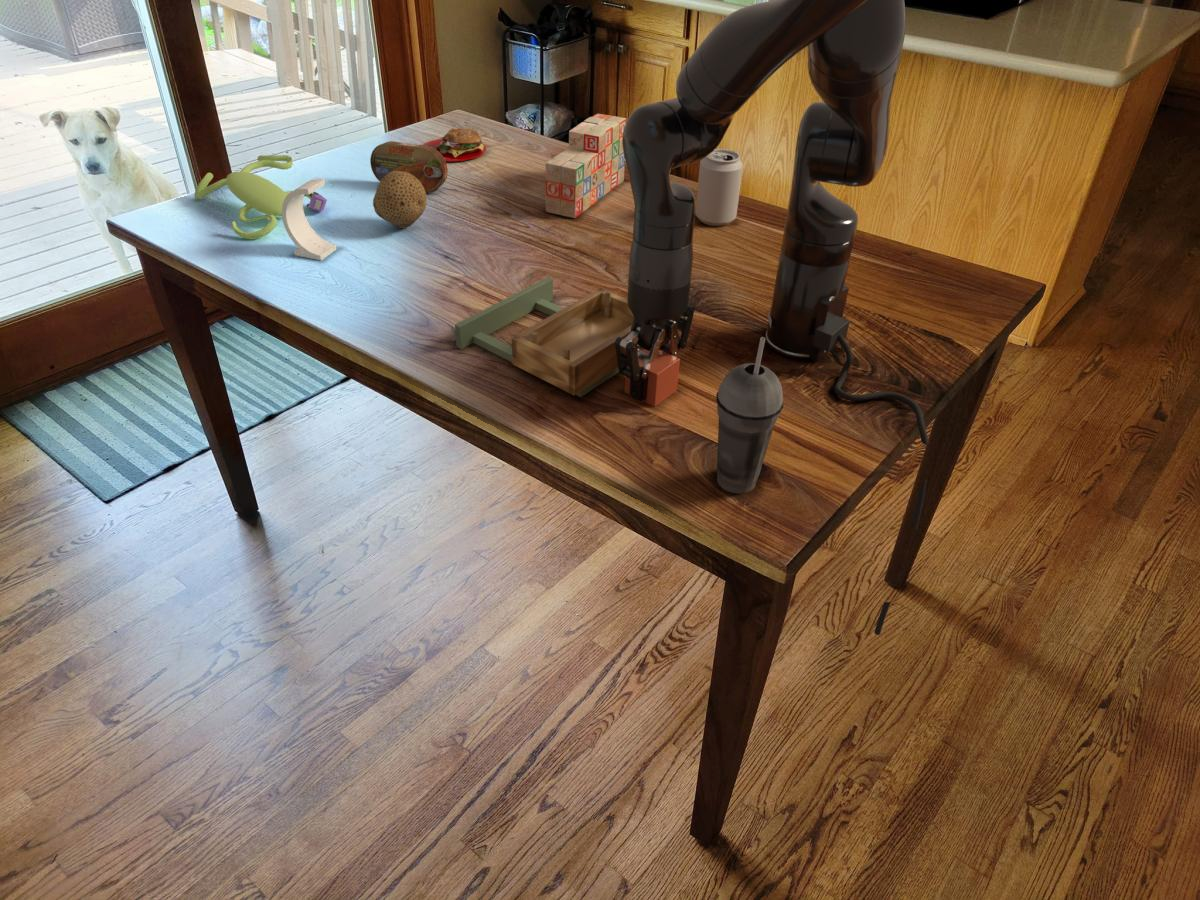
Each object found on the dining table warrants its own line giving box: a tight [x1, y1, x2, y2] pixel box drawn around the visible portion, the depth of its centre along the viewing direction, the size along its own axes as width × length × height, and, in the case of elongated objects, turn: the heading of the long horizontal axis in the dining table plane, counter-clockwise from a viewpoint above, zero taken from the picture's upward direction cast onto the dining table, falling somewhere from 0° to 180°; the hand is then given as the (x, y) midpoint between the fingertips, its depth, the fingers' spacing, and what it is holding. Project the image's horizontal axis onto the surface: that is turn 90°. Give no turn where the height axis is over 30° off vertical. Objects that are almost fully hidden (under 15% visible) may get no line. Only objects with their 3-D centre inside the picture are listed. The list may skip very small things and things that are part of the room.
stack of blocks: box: [544, 113, 627, 219], centre depth 162 cm, size 21×6×12 cm, turn 154°
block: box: [624, 349, 681, 407], centre depth 114 cm, size 5×5×5 cm
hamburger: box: [422, 127, 487, 162], centre depth 181 cm, size 14×14×6 cm
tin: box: [369, 140, 448, 194], centre depth 164 cm, size 15×3×8 cm, turn 73°
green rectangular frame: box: [454, 276, 619, 398], centre depth 122 cm, size 21×19×4 cm
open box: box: [510, 287, 643, 396], centre depth 118 cm, size 11×18×5 cm, turn 140°
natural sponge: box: [372, 171, 427, 229], centre depth 149 cm, size 9×9×10 cm
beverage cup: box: [715, 336, 784, 494], centre depth 95 cm, size 7×7×20 cm
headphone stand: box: [281, 178, 338, 261], centre depth 141 cm, size 5×6×12 cm
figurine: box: [193, 154, 328, 240], centre depth 156 cm, size 18×27×6 cm
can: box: [695, 148, 744, 227], centre depth 155 cm, size 8×8×12 cm
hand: (651, 388), depth 115 cm, fingers closed on block, 5 cm apart
